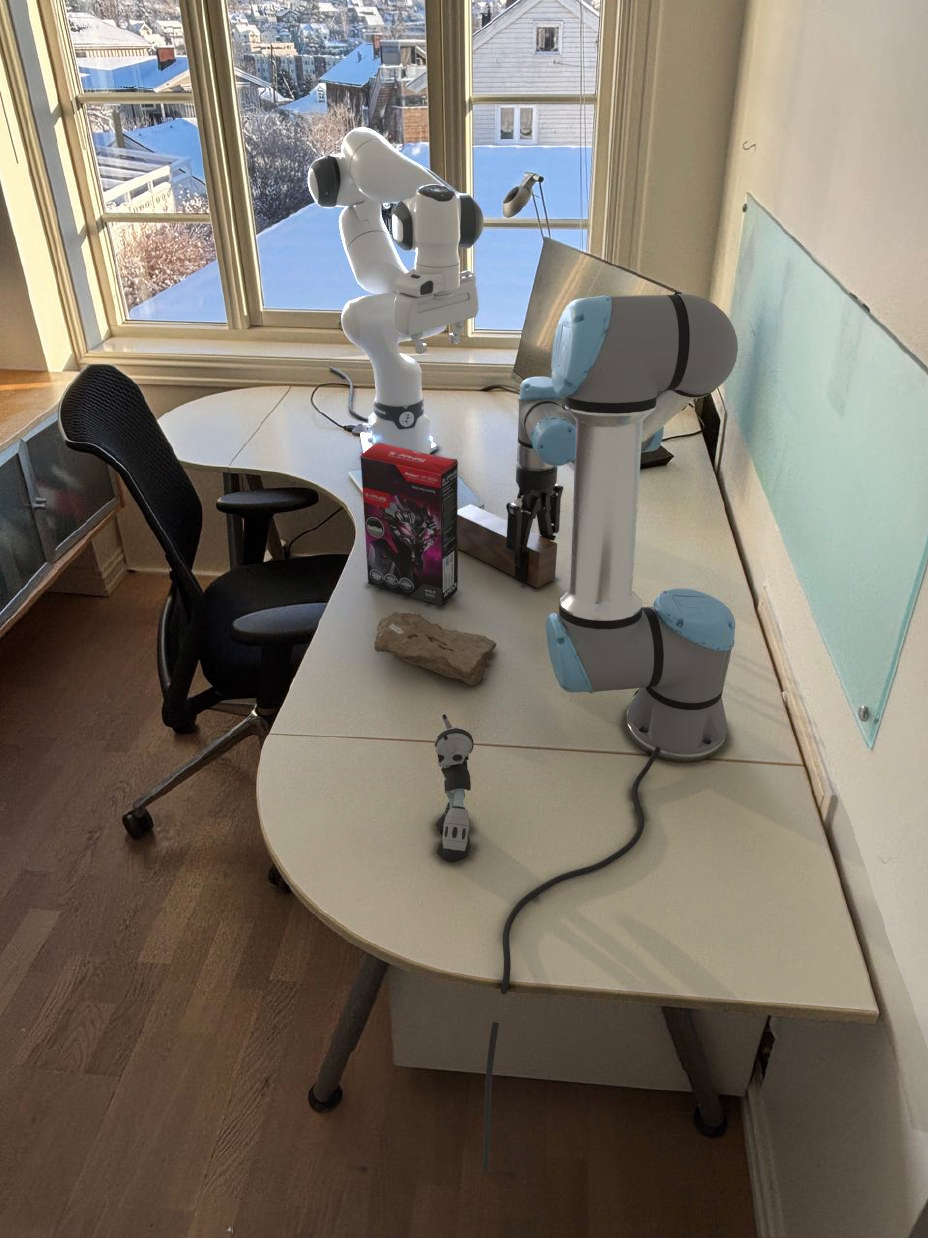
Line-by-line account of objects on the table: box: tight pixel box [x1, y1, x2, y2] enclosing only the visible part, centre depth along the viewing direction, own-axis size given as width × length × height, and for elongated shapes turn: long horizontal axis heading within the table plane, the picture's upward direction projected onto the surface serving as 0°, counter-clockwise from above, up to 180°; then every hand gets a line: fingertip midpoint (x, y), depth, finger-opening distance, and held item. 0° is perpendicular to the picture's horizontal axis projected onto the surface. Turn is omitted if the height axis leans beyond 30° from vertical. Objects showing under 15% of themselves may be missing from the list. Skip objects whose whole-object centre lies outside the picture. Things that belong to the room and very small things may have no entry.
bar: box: [457, 503, 558, 589], centre depth 183 cm, size 24×5×8 cm, turn 45°
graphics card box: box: [359, 442, 459, 606], centre depth 169 cm, size 17×7×27 cm, turn 62°
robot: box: [433, 713, 475, 862], centre depth 119 cm, size 20×5×20 cm, turn 3°
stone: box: [373, 611, 497, 686], centre depth 156 cm, size 21×15×6 cm
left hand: (438, 347), depth 188 cm, fingers open, 8 cm apart
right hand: (531, 573), depth 181 cm, fingers closed on bar, 5 cm apart
